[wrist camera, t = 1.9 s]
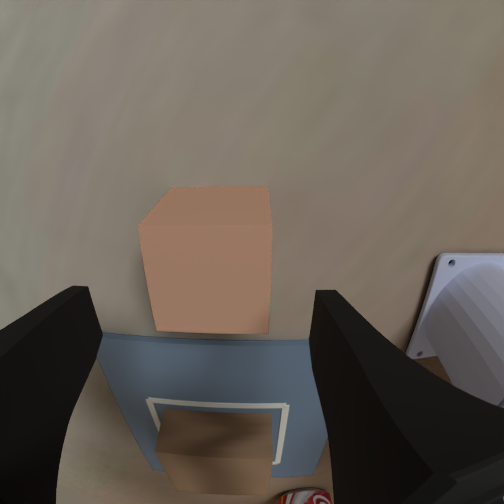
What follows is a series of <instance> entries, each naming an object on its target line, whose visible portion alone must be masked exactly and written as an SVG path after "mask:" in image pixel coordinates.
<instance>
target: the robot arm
mask: <svg viewBox="0 0 504 504" xmlns="http://www.w3.org/2000/svg"><path fill="white" fill-rule="evenodd" d="M450 260H452V261H451V263H450V264H448V263H449V261H450ZM102 337H103V333H102V330H101V327H100V324H99V321H98V318H97V315H96V312H95V309H94V305H93V302H92V299H91V295H90V292H89V288H88V286H71V287H69V288H67V289H65V290H63V291H62V292H60V293H58V294H57V295H55V296H53V297H52V298H50V299H48V300H47V301H45V302H44V303H42V304H41V305H39V306H38V307H36V308H35V309H33V310H31V311H30V312H28V313H27V314H25V315H24V316H22V317H21V318H19V319H17V320H16V321H14V322H12V323H11V324H9V325H8V326H6V327H4V328H3V329H1V330H0V504H56V488H57V478H58V470H59V463H60V458H61V453H62V448H63V443H64V439H65V435H66V431H67V427H68V424H69V420H70V418H71V415H72V412H73V409H74V407H75V405H76V402H77V400H78V398H79V396H80V393H81V391H82V389H83V387H84V384H85V382H86V380H87V378H88V376H89V373H90V371H91V369H92V367H93V364H94V362H95V360H96V357H97V354H98V350H99V347H100V344H101V340H102ZM309 348H310V357H311V365H312V371H313V375H314V379H315V384H316V388H317V392H318V396H319V400H320V404H321V408H322V412H323V416H324V420H325V425H326V429H327V434H328V440H329V448H330V457H331V467H332V479H333V493H334V504H504V253H442V254H440V255H439V256H438V257H437V259H436V262H435V266H434V269H433V273H432V277H431V280H430V283H429V287H428V290H427V293H426V297H425V300H424V303H423V306H422V309H421V312H420V315H419V318H418V321H417V324H416V327H415V330H414V332H413V335H412V338H411V340H410V343H409V346H408V348H407V351H406V354H405V353H403V352H402V351H401V350H400V349H398V348H397V347H396V346H395V345H394V344H392V343H391V342H390V341H389V340H388V339H386V338H385V337H384V336H383V335H382V334H381V333H380V332H378V331H377V330H376V329H375V328H374V327H373V326H372V325H371V324H370V323H369V322H368V321H367V320H366V319H365V318H364V317H363V316H362V315H361V314H359V313H358V312H357V311H356V310H355V309H354V308H353V307H352V306H351V305H350V304H349V303H348V302H347V301H346V299H345V298H344V297H343V296H342V295H340V294H339V293H338V292H337V291H336V290H316V293H315V300H314V308H313V316H312V323H311V330H310V337H309ZM433 356H437V357H438V359H439V360H440V362H441V364H442V366H443V367H444V369H445V371H446V373H447V375H448V377H449V378H450V380H451V382H452V384H453V385H452V384H450V383H448V382H447V381H445V380H443V379H441V378H440V377H438V376H436V375H435V374H433V373H432V372H430V371H428V370H427V369H426V368H424V367H423V366H421V365H420V364H418V363H417V362H416V361H414V360H413V359H419V358H426V357H433Z"/></svg>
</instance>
